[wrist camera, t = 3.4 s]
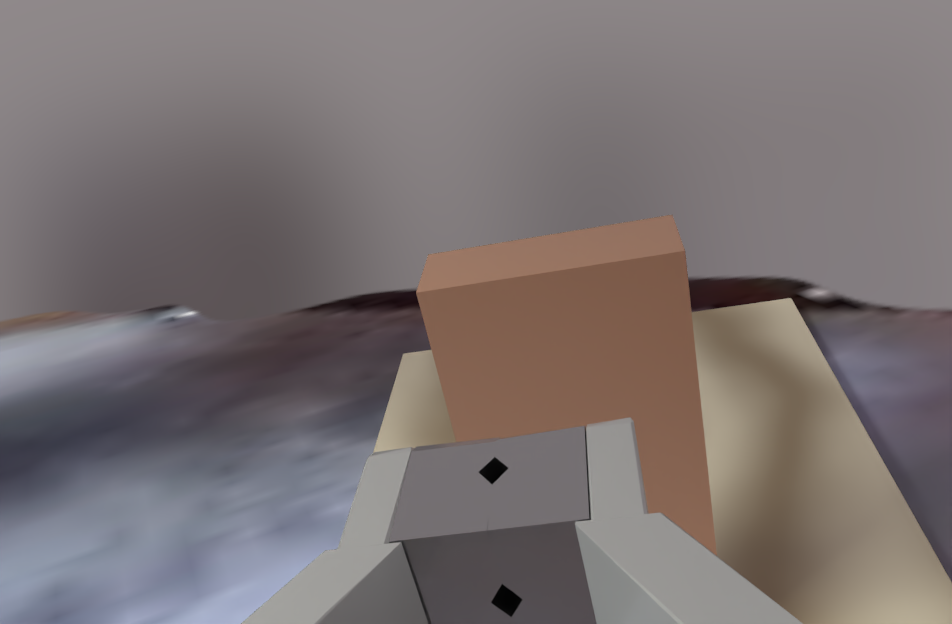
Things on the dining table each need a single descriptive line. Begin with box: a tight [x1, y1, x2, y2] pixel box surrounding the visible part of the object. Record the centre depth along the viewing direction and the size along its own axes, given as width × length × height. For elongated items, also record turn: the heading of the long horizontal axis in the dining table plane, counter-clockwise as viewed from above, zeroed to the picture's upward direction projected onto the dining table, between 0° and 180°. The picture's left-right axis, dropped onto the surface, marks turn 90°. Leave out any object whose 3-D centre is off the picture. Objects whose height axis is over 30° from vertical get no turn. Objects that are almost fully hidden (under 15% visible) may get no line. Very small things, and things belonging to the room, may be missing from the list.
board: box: [373, 298, 952, 624], centre depth 36 cm, size 22×26×1 cm
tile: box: [416, 215, 717, 556], centre depth 26 cm, size 7×3×14 cm, turn 86°
